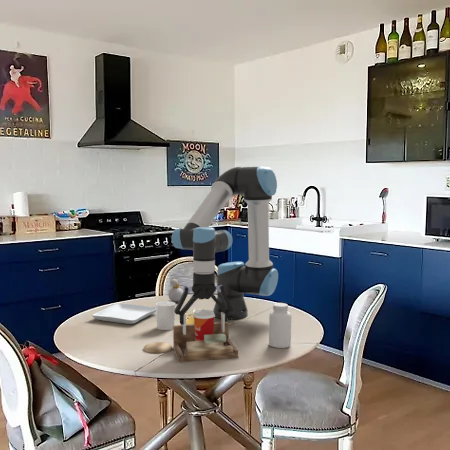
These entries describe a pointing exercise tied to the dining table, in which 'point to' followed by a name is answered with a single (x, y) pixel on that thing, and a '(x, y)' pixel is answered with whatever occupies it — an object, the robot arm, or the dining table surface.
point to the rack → (203, 344)
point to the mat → (157, 347)
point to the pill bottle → (280, 326)
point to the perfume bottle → (175, 291)
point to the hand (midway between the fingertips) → (203, 332)
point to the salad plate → (124, 313)
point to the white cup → (165, 315)
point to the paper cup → (203, 323)
